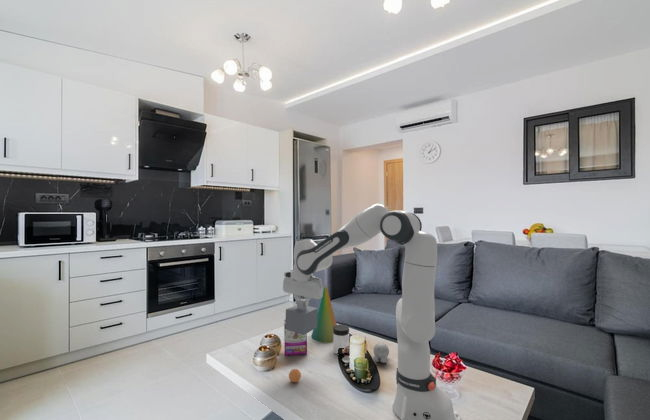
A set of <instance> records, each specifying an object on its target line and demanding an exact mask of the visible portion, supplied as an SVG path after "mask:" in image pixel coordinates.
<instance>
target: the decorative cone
mask: <svg viewBox="0 0 650 420" xmlns="http://www.w3.org/2000/svg"><path fill="white" fill-rule="evenodd" d="M324 285H325V286H324V287H323V297H322V298H321V299H320V302H319V307H318V314H317V328H315V329H314V330H312V332H311V339H312V340H313V341H315V342H318V343H326V344H327V343H333V327H334V326H335V325H338V324H337V320H336V317H335V313H334V309H333V306H332V301H331V297H330V295H329V291H328V287H327V283H325V284H324Z"/></svg>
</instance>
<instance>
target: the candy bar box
mask: <svg viewBox="0 0 650 420" xmlns="http://www.w3.org/2000/svg"><path fill="white" fill-rule="evenodd" d="M283 324H284V329H283V331H284V334H283V335H284V336H283V337H284V356H285V357H289V356H304V355H305V356H306V355H307V354H308V333H306V334H305V335H302V334H299V333H296V332H292V331H289V330H286V329H285V320H284V323H283Z"/></svg>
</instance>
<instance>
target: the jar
mask: <svg viewBox="0 0 650 420" xmlns="http://www.w3.org/2000/svg"><path fill="white" fill-rule="evenodd" d="M347 346H349V347H350V327H349V326H348V325H347V324H337V325H335V326H334V327H333V342H332V352H333V354H335V355H338V354H337V353H338V349H339V348H345V347H347Z"/></svg>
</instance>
